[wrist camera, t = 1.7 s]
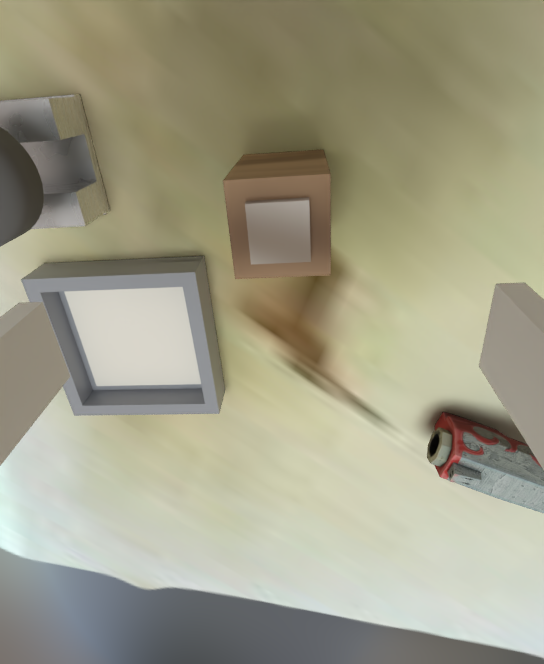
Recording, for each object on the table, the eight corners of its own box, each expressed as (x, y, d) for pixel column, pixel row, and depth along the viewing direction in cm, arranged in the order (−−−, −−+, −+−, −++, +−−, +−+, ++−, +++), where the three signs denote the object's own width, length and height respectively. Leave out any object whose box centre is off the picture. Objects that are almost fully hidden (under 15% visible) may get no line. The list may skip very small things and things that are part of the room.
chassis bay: (43, 263, 32) (21, 279, 29) (204, 255, 31) (194, 272, 28) (90, 392, 38) (74, 415, 35) (225, 390, 37) (219, 413, 34)
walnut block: (243, 154, 27) (220, 183, 20) (323, 149, 27) (331, 176, 19) (250, 232, 30) (233, 283, 22) (324, 228, 29) (331, 279, 22)
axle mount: (-14, 101, 26) (-59, 105, 23) (80, 94, 26) (47, 96, 23) (27, 215, 30) (-7, 232, 27) (110, 211, 29) (86, 227, 26)
